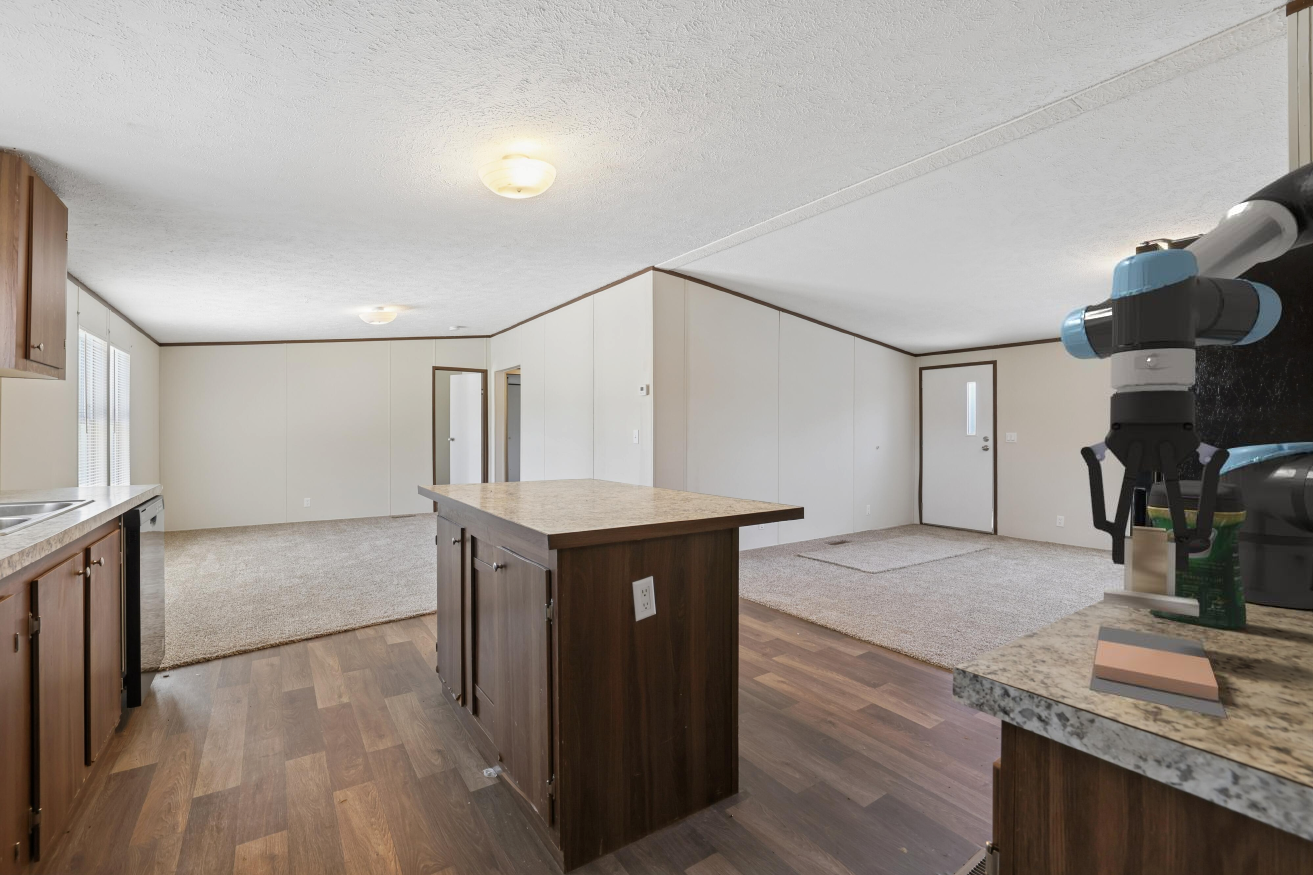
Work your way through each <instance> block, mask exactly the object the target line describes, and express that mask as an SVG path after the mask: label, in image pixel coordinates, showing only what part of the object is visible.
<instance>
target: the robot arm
mask: <svg viewBox="0 0 1313 875" xmlns="http://www.w3.org/2000/svg"><path fill="white" fill-rule="evenodd" d="M1312 244H1313V161H1311V162H1309V163H1307V164H1304V165H1302V166H1300V167H1298V168H1295V169H1294V170H1292V171H1290V172H1288V173H1286V174H1284V175H1283V176H1281V177H1280V178H1277V179H1276V180H1274V181H1273V182H1271V183H1269V184H1268V185H1265V186H1264V187H1263V188H1262V187H1261V189H1259V190H1258V191H1256V192H1255V193H1253V194H1251V195H1250V196H1249V197H1247V198H1245V199H1244V200H1243V201H1240V202H1239V203H1237V204H1236V205H1235V206H1234V207H1232V208H1230V209H1228V211H1226V213H1224V215H1223V216H1222V217H1221V218H1220V220H1219V222H1218V224H1217V226H1216V227H1214V228H1213V229H1211V230H1210V231H1208V232H1207V233H1205V234H1204V235H1202V236H1200V237H1199V238H1198V239H1196V240H1194V241H1193V242H1192V243H1191V244H1189V245H1188V246H1186V247H1184V248H1182V249H1181V248H1178V249H1177V248H1173V249H1172V248H1170V249H1158V250H1152V251H1147V252H1146V251H1145V252H1141V253H1138V254H1134V255H1131V256H1128V257H1125V258H1124V259H1122V260H1120V261H1119V262H1118V263H1117V264H1116V265H1115V267H1114V269H1113V275H1112V276H1113V277H1112V288H1111V289H1112V290H1111V294H1110V296H1109V298H1107V299H1106V300H1105V301H1102V302H1101V303H1097V304H1094V305H1092V304H1089V305H1086V306H1084V307H1081V308H1079V309H1075V310H1073V311H1072V312H1070V313H1069V314H1067V316H1066V317H1065V318H1064V320H1063V322H1062V324H1061V328H1060V338H1061V342H1062V343H1063V346H1064V349H1065V350H1066V352H1067V353H1068V354H1069V355H1071V356H1072V357H1073V358H1076V359H1079V360H1090V359H1099V360H1105V359H1108V358H1110V365H1111V366H1110V387H1111V389H1113V390H1116V391H1115V392H1114V393H1113V394H1112V395H1111V396H1110V405H1109V406H1110V408H1109V412H1110V413H1109V414H1110V415H1109V418H1110V420H1109V421H1110V422H1109V430H1108V432H1107V434H1106V435H1105V438H1104V441H1100V442H1098V443H1095V444H1092V445H1090V446H1084V447H1081V449H1080V455H1081V456H1082V458H1083V461H1084V462H1085V464H1086V466H1087V470H1088V481H1089V489H1090V490H1089V491H1090V492H1089V493H1090V503H1091V511H1092V512H1091V513H1092V521H1093V522H1092V523H1093V524H1092V525H1093V527H1094V529H1096V530H1099V531H1102V532H1104V533H1107V534H1109V535H1110V536H1111V540H1112V541H1111V545H1112V546H1111V561H1112V562H1113V564H1115V565H1124V566H1123V567H1124V568H1123V572H1124V573H1123V574H1124V575H1123V577H1124V578H1123V590H1130V591H1132V559H1133V535H1126V532H1127V526H1128V522H1129V517H1130V512H1131V507H1132V504H1133V498H1134V493H1135V488H1136V483H1137V480H1138V476H1139V475H1138V474H1139V473H1140V472H1141V473H1143V472H1148V471H1153V472H1156V473H1159V474H1160V473H1162V478H1163V482H1164V484H1165V489H1166V495H1167V500H1168V505H1169V511H1170V516H1171V522H1172V527H1173V533H1174V540H1169V539H1167V595H1168V596H1175V570H1176V571H1187V569H1188V568H1189V544H1190V543H1191V542H1192V541H1193V540H1198V539H1206V538H1209V537H1210V536H1211V534H1212V527H1213V519H1214V512H1215V504H1216V497H1217V489H1218V482H1219V483H1227V484H1235V485H1238V486H1239V487H1240V489H1241V492H1242V496H1243V501H1244V505H1245V511H1246V517H1245V520H1244V522H1243V524H1242V526H1241V527H1240V530H1239V538H1238V545H1239V563H1240V571H1241V578H1242V585H1243V591H1244V598H1245V602H1247V603H1248V602H1249V603H1254V604H1261V605H1266V606H1272V607H1273V606H1275V607H1280V608H1281V607H1282V608H1291V609H1303V610H1304V609H1306V610H1313V441H1312V442H1307V441H1305V442H1286V443H1271V444H1261V445H1259V444H1258V445H1248V446H1238V447H1234V448H1232V447H1231V448H1228V449H1225V448H1219V447H1218V448H1217V447H1214V446H1212V445H1210V444H1206V443H1204V442H1202V441H1201V438H1200V436H1199V435H1198V433H1197V432H1196V427H1195V425H1196V424H1195V423H1196V422H1195V421H1196V420H1195V419H1196V416H1195V415H1196V411H1195V410H1196V394H1195V393H1194V392H1193V391H1190V390H1189V388H1190V387H1193V386H1194V385H1195V384H1196V347H1199V346H1207V345H1219V346H1222V347H1229V346H1239V345H1241V346H1242V345H1247V344H1252V343H1255V342H1258V341H1259V340H1261V339H1263V338H1265V337H1266V336H1268V335H1269V334H1270V333H1271V332H1272V331H1273V330H1274V329H1275V327H1276V326H1277V325H1278V322H1279V321H1280V318H1281V316H1282V309H1283V308H1282V301H1281V297H1279V294H1278V293H1277V292H1276V291H1275V290H1274V289H1272V288H1271V287H1270V286H1268V285H1265V284H1263V283H1259V282H1254V281H1250V280H1248V279H1246V278H1245V279H1242V278H1237V277H1239V276H1241V275H1242V274H1243V273H1245V272H1247V271H1248V270H1249V269H1251V268H1253V266H1255V265H1256V264H1258V263H1264V262H1265V263H1266V262H1269V261H1272V260H1274V259H1277V258H1279V257H1280V256H1282V255H1284V254H1285V253H1286V252H1288V251H1290V250H1292V249H1293V250H1294V249H1297V248H1300V247H1303V246H1307V245H1312ZM1107 450H1109V451H1110V453H1111V454H1112V455H1113V456H1115V458H1116V459H1117V460H1118V461H1119V463H1120V464H1121V465H1122V466H1123V467H1124V473H1123V478H1122V482H1121V486H1120V487H1121V488H1120V492H1119V498H1118V502H1117V507H1116V512H1115V516H1114V519H1113V520H1114V521H1110V520H1107V513H1106V503H1105V502H1106V501H1105V492H1104V490H1105V489H1104V482H1103V481H1104V480H1103V469H1102V465H1101V462H1103V461H1104V460H1105V459H1106V451H1107ZM1195 452H1197V453H1198V454H1199V457H1198V461H1199V463H1201V464H1202V465H1203V468H1202V473H1201V474H1202V475H1201V479H1200V481H1201V487H1200V495H1199V502H1198V510H1197V517H1196V525H1195V527H1191V528H1188V527H1187V522H1186V517H1185V511H1184V506H1183V500H1182V495H1181V490H1180V484H1179V481H1180V479H1179V473H1178V469H1179V468H1180V467H1181V466H1182V465H1184V463H1185V462H1186V461H1187V460H1188V459H1189V458H1190V456H1192V455H1193V454H1194V453H1195Z"/></svg>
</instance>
